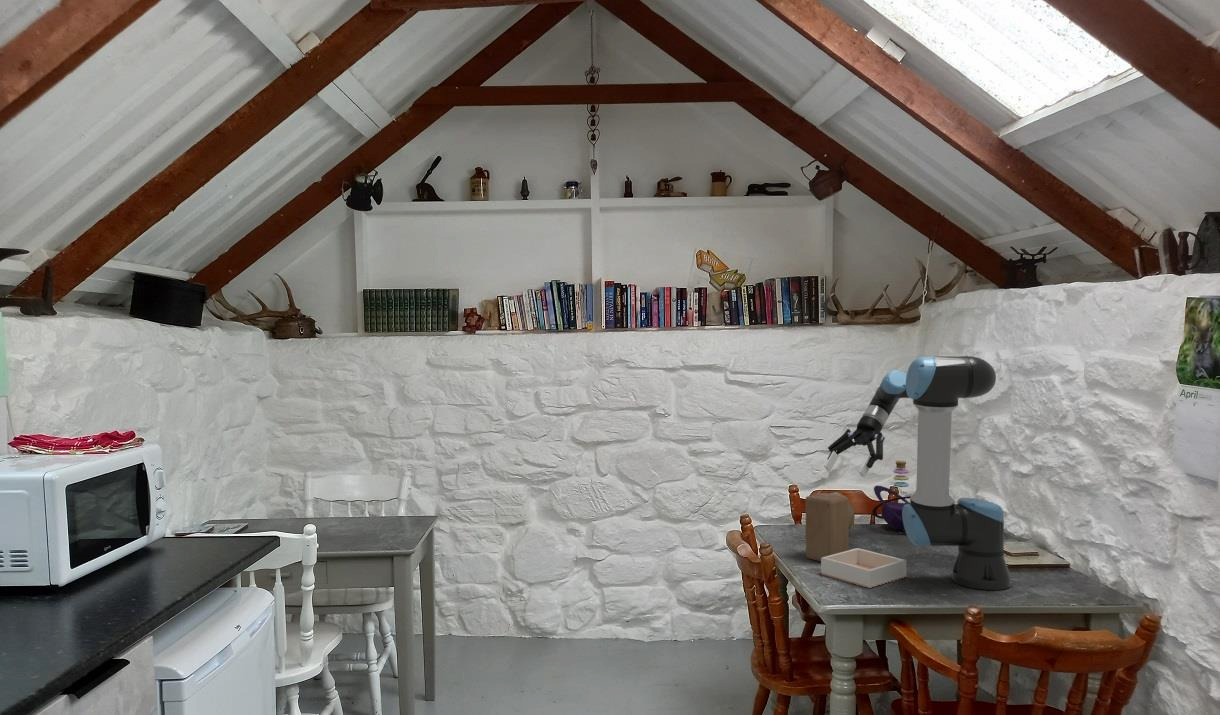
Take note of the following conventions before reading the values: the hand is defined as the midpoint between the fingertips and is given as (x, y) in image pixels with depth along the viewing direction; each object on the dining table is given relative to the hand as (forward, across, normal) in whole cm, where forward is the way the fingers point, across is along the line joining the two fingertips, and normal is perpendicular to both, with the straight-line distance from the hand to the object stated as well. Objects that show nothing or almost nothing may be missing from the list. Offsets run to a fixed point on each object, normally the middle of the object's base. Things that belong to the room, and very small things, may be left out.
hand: (843, 471), depth 249 cm
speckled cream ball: (+7, +18, -32) cm, 37 cm away
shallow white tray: (+29, -18, -8) cm, 36 cm away
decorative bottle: (-10, +8, -49) cm, 50 cm away
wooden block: (+25, 0, -13) cm, 28 cm away
